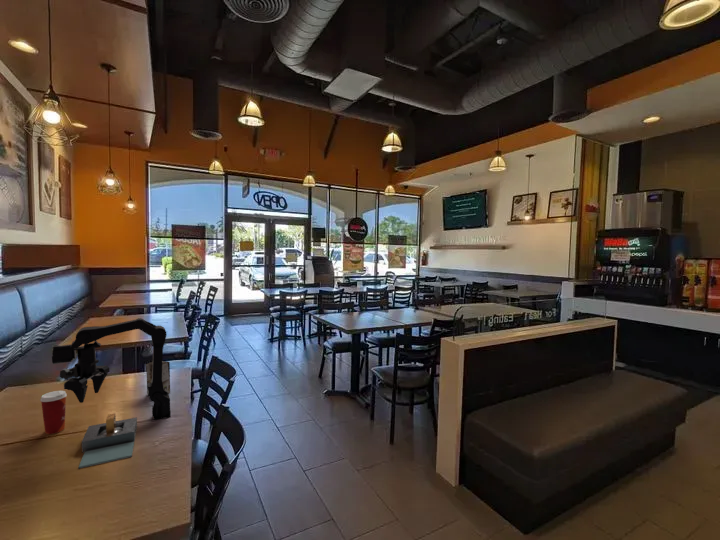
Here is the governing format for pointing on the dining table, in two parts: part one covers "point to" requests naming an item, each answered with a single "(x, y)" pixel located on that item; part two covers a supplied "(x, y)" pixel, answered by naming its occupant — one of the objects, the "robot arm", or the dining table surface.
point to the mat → (106, 454)
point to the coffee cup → (54, 411)
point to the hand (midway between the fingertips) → (89, 397)
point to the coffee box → (164, 374)
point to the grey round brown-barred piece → (111, 425)
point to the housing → (109, 435)
